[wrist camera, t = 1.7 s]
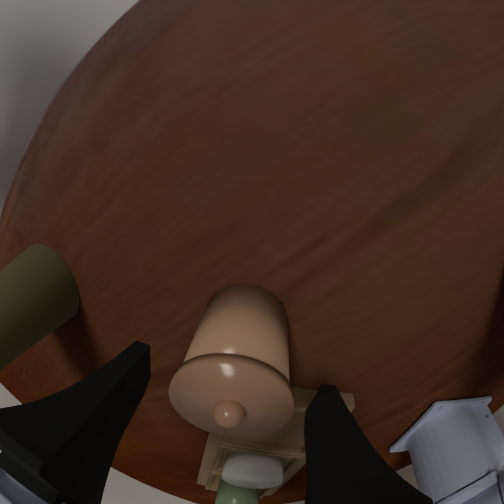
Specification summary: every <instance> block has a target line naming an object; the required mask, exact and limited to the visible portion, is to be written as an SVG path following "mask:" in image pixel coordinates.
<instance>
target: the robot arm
mask: <svg viewBox="0 0 504 504" xmlns="http://www.w3.org/2000/svg"><path fill="white" fill-rule="evenodd" d="M150 377H151V370H150V345H148V344H145V343H142V342H139V341H135V342H134V343H132V344H131V345H130V346H129V347H127V348H126V349H125V350H124V351H122V352H121V353H120V354H119V355H117V356H116V357H115V358H113V359H112V360H111V361H109V362H108V363H107V364H105V365H104V366H102V367H101V368H100V369H98V370H97V371H95V372H94V373H92V374H90V375H89V376H87V377H86V378H84V379H83V380H81V381H79V382H77V383H76V384H74V385H72V386H70V387H68V388H66V389H64V390H62V391H60V392H57V393H55V394H53V395H50V396H48V397H45V398H42V399H39V400H36V401H33V402H29V403H26V404H22V405H17V406H12V407H6V408H0V450H1V451H2V452H1V453H0V504H101V500H102V496H103V491H104V487H105V483H106V480H107V477H108V473H109V470H110V467H111V464H112V461H113V458H114V455H115V453H116V450H117V447H118V444H119V442H120V440H121V437H122V435H123V433H124V431H125V429H126V427H127V426H128V424H129V422H130V420H131V418H132V416H133V414H134V413H135V411H136V409H137V407H138V405H139V403H140V401H141V399H142V398H143V396H144V393H145V390H146V388H147V385H148V383H149V380H150ZM491 400H492V398H491V396H487V397H480V398H472V399H462V400H451V401H438V402H435V403H434V404H432V406H431V407H430V408H429V409H428V410H427V411H426V412H425V413H424V414H423V416H422V417H421V418H420V419H419V420H418V421H417V422H416V423H415V424H414V425H413V426H412V427H411V428H410V429H409V430H408V431H407V432H406V433H405V434H404V435H403V436H402V437H401V438H400V439H399V440H398V441H397V442H396V443H395V444H394V445H392V446H391V447H390V448H389V451H390V452H401V451H409V454H410V457H411V461H412V465H413V468H414V472H415V476H416V480H417V484H418V489H419V490H417V489H416V488H414V487H413V486H412V485H410V484H409V483H408V482H406V481H405V480H404V479H403V478H402V477H401V476H399V475H398V474H397V473H396V472H395V471H394V470H393V469H392V468H391V467H390V466H389V465H388V464H387V463H386V462H385V461H384V460H383V458H382V457H381V456H380V455H379V454H378V452H377V451H376V450H375V449H374V448H373V446H372V445H371V444H370V442H369V441H368V439H367V438H366V436H365V435H364V434H363V432H362V431H361V429H360V427H359V426H358V424H357V423H356V421H355V419H354V418H353V416H352V414H351V413H350V411H349V409H348V407H347V406H346V404H345V402H344V400H343V398H342V397H341V395H340V393H339V391H338V390H337V388H336V386H335V385H326V384H322V385H321V387H320V388H319V390H318V392H317V393H316V395H315V397H314V398H313V400H312V401H311V403H310V405H309V406H308V408H307V409H306V411H305V421H304V441H305V455H306V471H307V484H306V497H305V504H504V470H503V471H501V470H500V469H501V468H502V466H503V464H504V437H503V435H502V434H501V431H500V429H499V427H498V425H497V423H496V422H495V419H494V417H493V415H492V413H491V412H490V410H489V408H488V406H487V405H488V404H489V402H490V401H491Z"/></svg>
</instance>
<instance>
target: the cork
mask: <svg viewBox="0 0 504 504" xmlns="http://www.w3.org/2000/svg"><path fill="white" fill-rule="evenodd" d="M78 308H79V294H78V290H77V285H76V282H75V280H74V278H73V275H72V273H71V271H70V269H69V268H68V266H67V265H66V263H65V262H64V260H63V259H62V258H61V257H60V256H59V255H58V254H57V253H56V252H55V250H53V249H52V248H50V247H48V246H47V245H45V244H38V243H36V244H34V245H32V246H30V247H29V248H27V249H26V250H25V251H24V252H22V253H21V254H20V255H19V256H18V257H16V258H15V259H14V260H13V261H12V262H11V263H9V264H8V265H7V266H6V267H5V268H4V269H3V270H1V271H0V370H1V369H3V368H4V367H5V366H7V365H8V364H9V363H10V362H12V361H13V360H14V359H16V358H17V357H18V356H20V355H21V354H22V353H24V352H25V351H26V350H28V349H29V348H30V347H32V346H33V345H34V344H36V343H37V342H39V341H40V340H41V339H43V338H44V337H45V336H47V335H48V334H50V333H51V332H52V331H54V330H55V329H57V328H58V327H59V326H61V325H62V324H64V323H65V322H67V321H68V320H69V319H71V318H72V317H74V316H75V315H76V313H77V311H78Z"/></svg>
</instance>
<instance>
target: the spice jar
mask: <svg viewBox="0 0 504 504" xmlns="http://www.w3.org/2000/svg"><path fill="white" fill-rule="evenodd" d="M168 392H169V398H170V401H171V403H172V405H173V407H174V408H175V410H176V411H177V412H178V413H179V414H180V415H181V416H182V417H183V418H184V419H185V420H187V421H188V422H190V423H191V424H193V425H195V426H196V427H198V428H200V429H203V430H205V431H208V432H211V433H214V434H217V435H222V436H227V437H237V438H249V437H257V436H262V435H266V434H269V433H272V432H274V431H276V430H278V429H280V428H281V427H283V426H284V425H285V424H286V423H287V422H288V421H289V420H290V418H291V417H292V415H293V411H294V395H293V389H292V386H291V384H290V382H289V346H288V319H287V312H286V309H285V307H284V305H283V303H282V302H281V301H280V299H279V298H278V297H277V296H276V295H274V294H273V293H272V292H270V291H268V290H267V289H264V288H262V287H259V286H256V285H251V284H236V285H231V286H228V287H225V288H223V289H221V290H220V291H218V292H217V293H216V294H214V295H213V297H212V298H211V299H210V301H209V302H208V305H207V307H206V309H205V312H204V314H203V316H202V319H201V321H200V324H199V326H198V328H197V331H196V333H195V336H194V338H193V340H192V343H191V345H190V348H189V350H188V352H187V355H186V357H185V360H184V362H183V363H182V364H181V365H180V366H179V367H178V369H177V370H176V372H175V374H174V376H173V379H172V381H171V383H170V386H169V391H168Z"/></svg>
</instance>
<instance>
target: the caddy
mask: <svg viewBox="0 0 504 504" xmlns="http://www.w3.org/2000/svg"><path fill="white" fill-rule="evenodd" d="M292 389H293V395H294V411H293V415H292V417H291V418H290V420H289V421H288V422H287V423H286V424H285V425H284V426H283V427H281V428H280V429H278V430H276V431H274V432H272V433H269V434H266V435H262V436H257V437H249V438H237V437H227V436H222V435H217V434H214V433H211V432H209V435H208V439H207V443H206V447H205V451H204V455H203V459H202V464H201V468H200V472H199V476H198V480H197V484H200V485H205V486H206V487H205V489H208V490H213V491H218V486H219V480H220V479H222V472H223V467H224V461H225V457H226V456H227V455H228V454H230V453H233V452H238V451H242V452H248V453H255V454H262V455H269V456H278V457H280V458H281V459H282V460H283V482H282V483H281V484H280V485H278V486H275V487H272V488H264V489H259V498H263V497H264V496H265V495H268V496H271V495H272V494H274V493H275V492H276V491H277V490H278V489H279V488H280V487H282V486H283V485H284V484H285V483H286V482H287V481H288V480H289V479H290V478H291V477H292V476H293V475H294V474H296V473H297V472H298V471H299V470H300V469H301V468H302V467H303V466H304V465H305V464H306V455H305V441H304V421H305V411H306V409H307V408H308V406H309V405H310V403H311V401H312V400H313V398H314V397H315V395H316V393H317V392H318V390H314V389H307V388H300V387H293V386H292ZM339 393H340V392H339ZM340 395H341V397H342V398H343V400H344V402H345V404H346V406H347V407H348V409H349V411H350V413H351V411H352V410H353V409H354V408H355V402H354V398H353V394H351V393H340Z"/></svg>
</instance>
